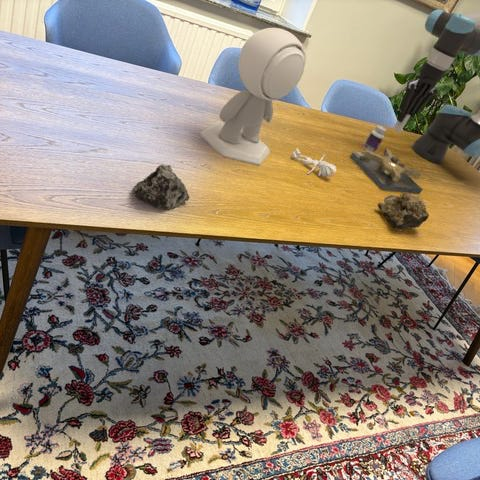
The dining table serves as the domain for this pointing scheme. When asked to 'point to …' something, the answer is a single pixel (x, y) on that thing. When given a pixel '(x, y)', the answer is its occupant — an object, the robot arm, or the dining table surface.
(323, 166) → the figurine
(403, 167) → the four spoke knob plate
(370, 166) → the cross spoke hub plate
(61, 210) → the dining table surface
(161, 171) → the rock
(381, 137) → the pill bottle
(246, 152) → the big headed doll
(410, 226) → the mineral specimen
